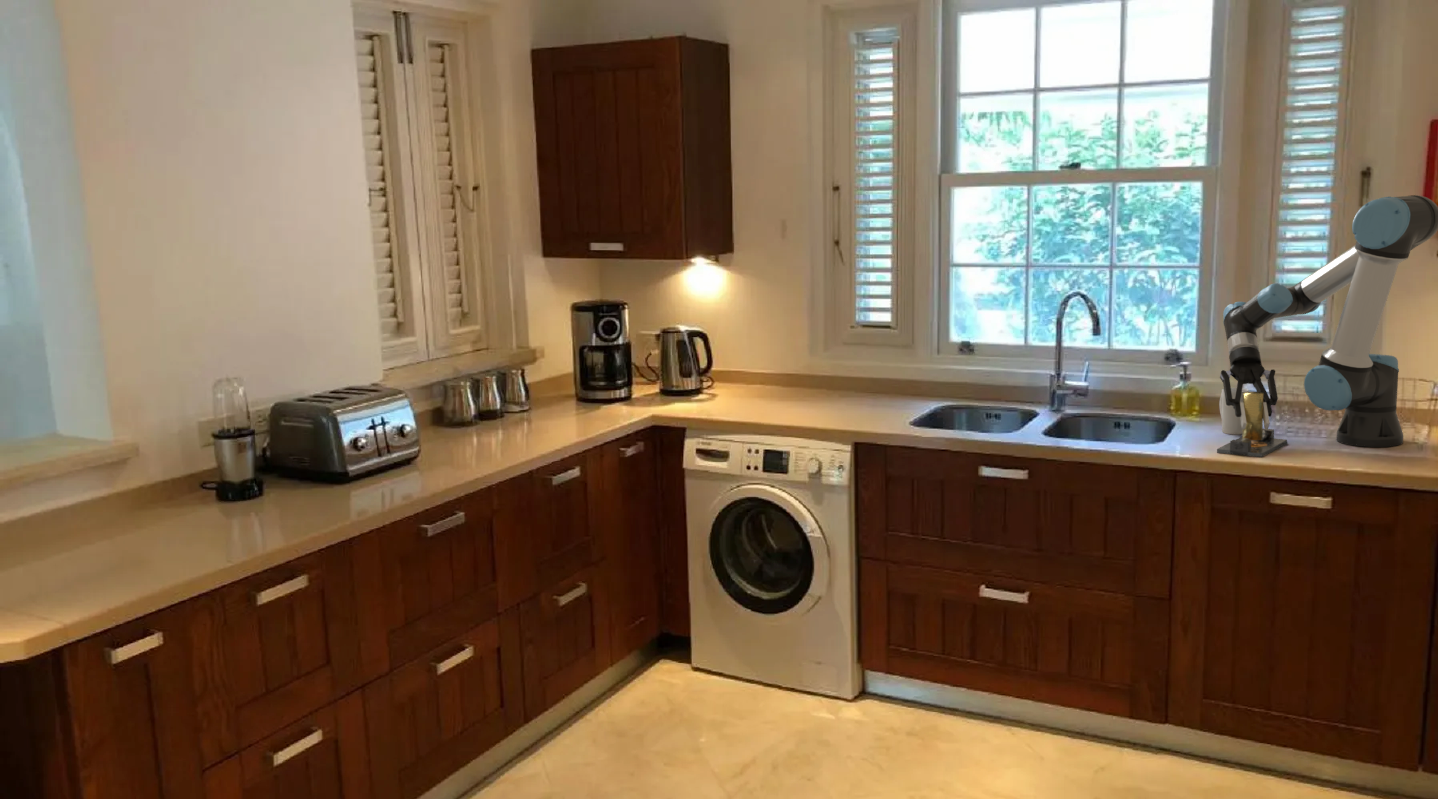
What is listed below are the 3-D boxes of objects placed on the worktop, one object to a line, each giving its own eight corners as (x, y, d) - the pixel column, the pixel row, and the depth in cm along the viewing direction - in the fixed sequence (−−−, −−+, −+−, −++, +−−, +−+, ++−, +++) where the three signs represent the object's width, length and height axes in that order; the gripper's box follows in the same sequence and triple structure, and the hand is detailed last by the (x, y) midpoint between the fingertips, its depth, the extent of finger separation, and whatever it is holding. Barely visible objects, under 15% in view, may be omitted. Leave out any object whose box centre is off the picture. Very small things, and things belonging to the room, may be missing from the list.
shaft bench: (1243, 439, 311) (1244, 426, 311) (1287, 443, 304) (1287, 430, 303) (1216, 452, 298) (1217, 439, 297) (1261, 457, 290) (1261, 444, 290)
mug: (1253, 433, 318) (1254, 390, 316) (1231, 435, 316) (1231, 392, 314) (1230, 427, 327) (1231, 385, 325) (1209, 429, 326) (1209, 387, 324)
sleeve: (1265, 437, 301) (1266, 392, 299) (1258, 441, 297) (1259, 395, 295) (1246, 435, 304) (1247, 390, 302) (1239, 439, 301) (1240, 393, 299)
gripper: (1277, 361, 310) (1290, 433, 297) (1206, 362, 314) (1216, 434, 301) (1282, 344, 304) (1296, 417, 291) (1210, 345, 308) (1220, 418, 295)
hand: (1255, 425), depth 296 cm, fingers closed on sleeve, 5 cm apart
